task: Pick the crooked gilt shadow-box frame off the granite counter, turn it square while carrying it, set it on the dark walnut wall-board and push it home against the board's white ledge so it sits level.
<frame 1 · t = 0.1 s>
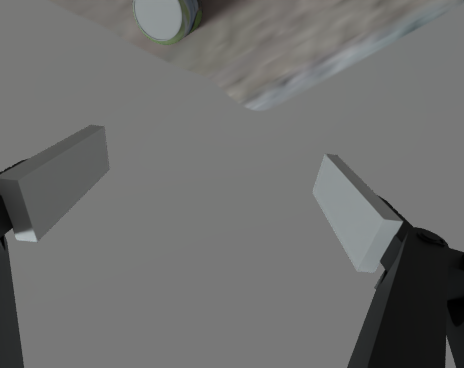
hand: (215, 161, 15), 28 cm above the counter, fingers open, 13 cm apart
beverage can: (180, 15, 35), on the counter
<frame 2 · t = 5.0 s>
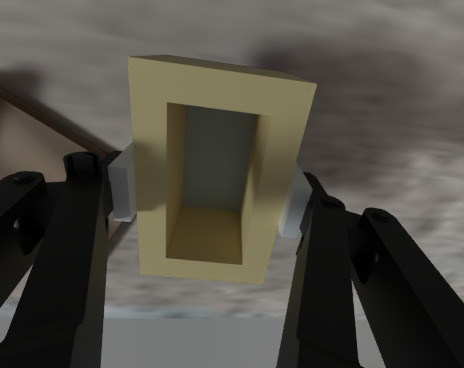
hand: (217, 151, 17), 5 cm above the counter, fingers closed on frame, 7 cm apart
frame: (217, 152, 17), point 5 cm above the counter, touching gripper
wall board: (45, 186, 23), on the counter
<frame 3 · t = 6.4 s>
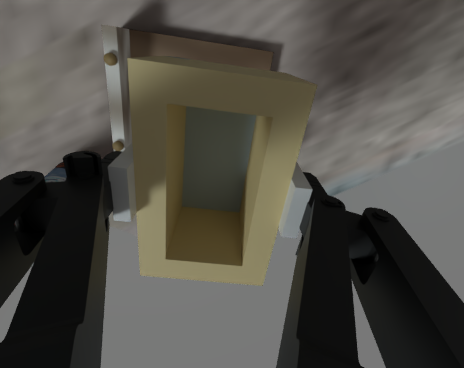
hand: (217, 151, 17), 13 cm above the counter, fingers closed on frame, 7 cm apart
frame: (217, 153, 17), point 13 cm above the counter, touching gripper
wall board: (193, 106, 28), on the counter
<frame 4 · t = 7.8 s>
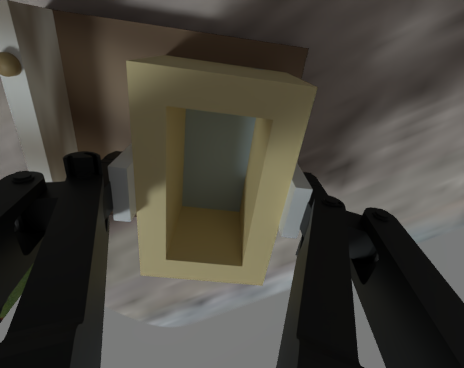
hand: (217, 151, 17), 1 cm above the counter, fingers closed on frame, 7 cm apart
frame: (217, 152, 17), point 1 cm above the counter, touching gripper, wall board
beverage can: (22, 239, 22), on the counter
wall board: (175, 136, 18), on the counter
when the fingers open (1 cm above the counter, at t = 8.1 s): frame stays where it is, resting on wall board.
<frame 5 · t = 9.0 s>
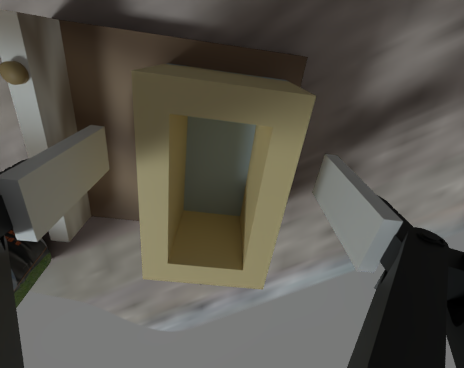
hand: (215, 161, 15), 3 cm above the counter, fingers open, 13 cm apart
frame: (218, 158, 17), point 1 cm above the counter, touching wall board
beverage can: (25, 243, 23), on the counter
wall board: (177, 141, 18), on the counter
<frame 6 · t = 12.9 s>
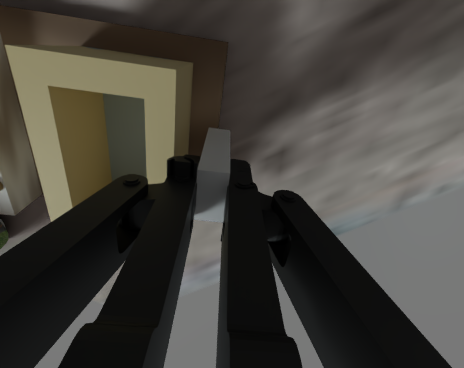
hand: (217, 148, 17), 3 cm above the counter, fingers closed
frame: (141, 137, 18), point 1 cm above the counter, touching gripper, wall board
wall board: (120, 123, 19), on the counter
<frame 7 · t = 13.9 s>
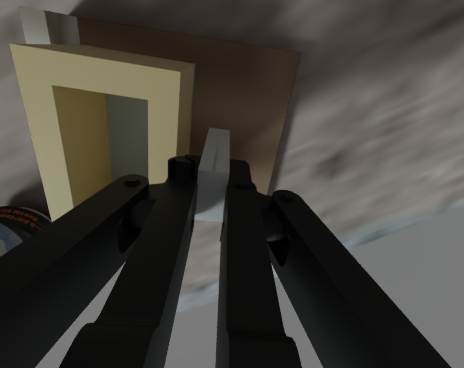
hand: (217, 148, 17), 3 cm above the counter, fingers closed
frame: (142, 137, 18), point 1 cm above the counter, touching gripper, wall board
beverage can: (36, 227, 24), on the counter
wall board: (181, 130, 19), on the counter
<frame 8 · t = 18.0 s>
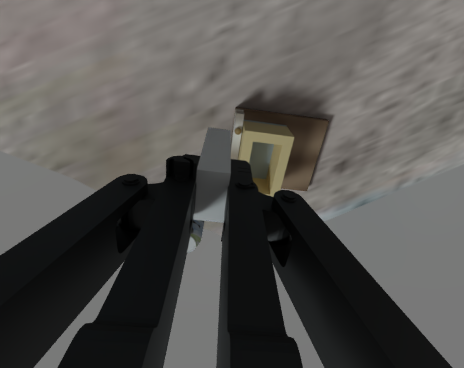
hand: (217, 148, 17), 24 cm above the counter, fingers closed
frame: (258, 154, 42), point 1 cm above the counter, touching wall board
beverage can: (192, 197, 48), on the counter
wall board: (273, 151, 43), on the counter
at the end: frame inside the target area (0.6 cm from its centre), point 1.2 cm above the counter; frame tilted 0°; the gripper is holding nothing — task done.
